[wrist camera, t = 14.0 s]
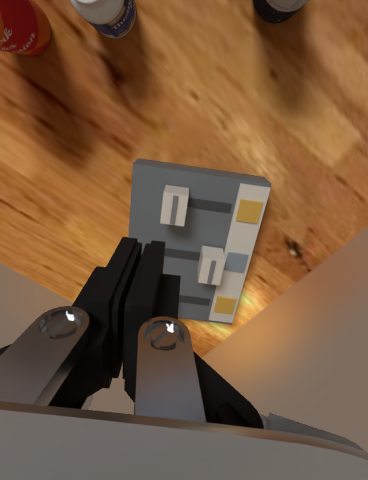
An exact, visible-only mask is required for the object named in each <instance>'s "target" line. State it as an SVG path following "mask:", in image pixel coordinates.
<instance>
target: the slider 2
mask: <svg viewBox="0 0 368 480" xmlns="http://www.w3.org/2000/svg"><path fill="white" fill-rule="evenodd" d="M224 264H225V257H224V252H223V248H216V247H209V246H202V248H201V253H200V258H199V264H198V269H197V271H198V283H204V284H212V285H220V281H221V277H222V273H223V269H224Z"/></svg>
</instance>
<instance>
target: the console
mask: <svg viewBox="0 0 368 480" xmlns="http://www.w3.org/2000/svg"><path fill="white" fill-rule="evenodd" d="M166 185H171V186H178V187H185V188H189V197H188V203H187V210H186V216H185V223H184V226H177V225H169V224H162V223H160V219H161V210H162V201H163V193H164V189H165V186H166ZM270 187H271V183H270V182H269V181H268V180H267V179H265V178H264V177H260V176H254V175H247V174H240V173H233V172H227V171H220V170H213V169H207V168H200V167H193V166H186V165H180V164H173V163H166V162H160V161H153V160H146V159H139V158H138V159H137V160H136V161H135V162H134V163H133V174H132V191H131V207H130V223H129V238H137V241H138V242H140V243H142V253H143V250H144V247H145V244H146V243H149V244H151V241H152V240H154V241H163V242H166V243H165V255H164V266H163V274H170V275H179V276H181V281H180V294H179V307H178V318H184V319H192V320H200V321H208V322H216V323H224V324H232V323H233V319H234V316H235V312H236V309H237V305H238V302H239V298H240V295H241V291H242V288H243V284H244V281H245V277H246V273H247V270H248V266H249V263H250V259H251V256H252V252H253V249H254V245H255V242H256V238H257V235H258V231H259V228H260V224H261V221H262V217H263V214H264V210H265V207H266V203H267V199H268V196H269V192H270V189H271V188H270ZM202 246H209V247H216V248H223V252H224V257H225V264H224V269H223V273H222V277H221V281H220V285H212V284H204V283H198V271H197V269H198V264H199V258H200V253H201V248H202Z"/></svg>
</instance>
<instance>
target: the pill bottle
mask: <svg viewBox="0 0 368 480" xmlns="http://www.w3.org/2000/svg"><path fill="white" fill-rule="evenodd" d="M70 2H71V4H72V5H73V7H74V9H75V10H76V11H77V12H78V13H79V14H80V16H82V17H83V18H84V19H85V20H86V21H87V22H89V23H90V24H91V25H92V26H93V27H94V28H96V29H97V30H98V31H99V32H100V33H101V34H103V35H105V36H107V37H109V38H121V37H123V36H125V35H126V34H127V33H128V32H129V31H130V30H131V29H132V27H133V25H134V22H135V17H136V8H135V2H134V0H70Z"/></svg>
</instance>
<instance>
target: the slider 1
mask: <svg viewBox="0 0 368 480" xmlns="http://www.w3.org/2000/svg"><path fill="white" fill-rule="evenodd" d="M188 197H189V188H185V187H178V186H171V185H166V186H165V189H164V193H163V201H162V210H161V219H160V223H162V224H169V225H177V226H184V223H185V216H186V210H187V203H188Z"/></svg>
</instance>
